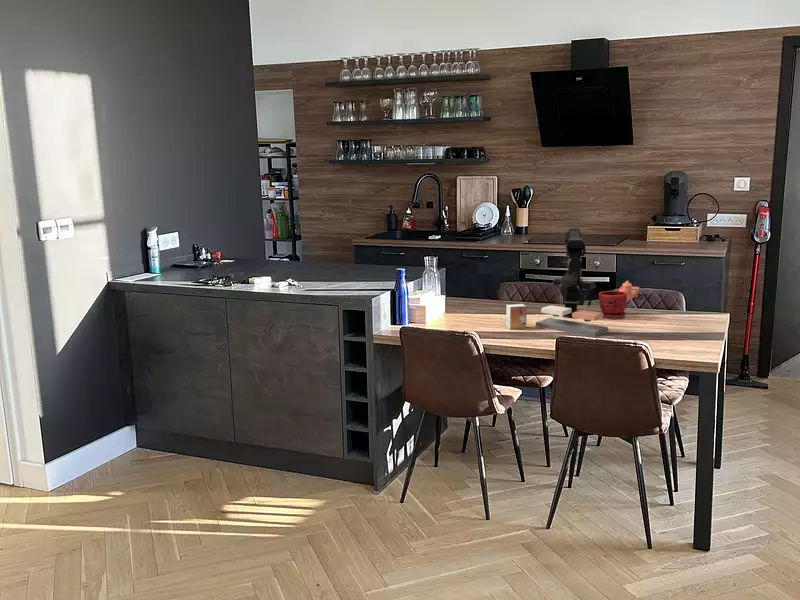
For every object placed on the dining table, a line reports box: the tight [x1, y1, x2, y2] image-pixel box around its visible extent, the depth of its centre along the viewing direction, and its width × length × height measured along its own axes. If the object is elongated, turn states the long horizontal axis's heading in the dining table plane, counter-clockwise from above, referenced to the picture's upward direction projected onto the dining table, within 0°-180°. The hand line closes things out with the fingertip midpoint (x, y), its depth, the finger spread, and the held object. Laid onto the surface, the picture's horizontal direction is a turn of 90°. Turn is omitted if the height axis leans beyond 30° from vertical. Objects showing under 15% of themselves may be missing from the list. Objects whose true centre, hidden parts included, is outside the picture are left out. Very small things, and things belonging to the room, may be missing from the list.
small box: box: [505, 303, 528, 330], centre depth 360 cm, size 8×6×10 cm
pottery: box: [618, 280, 640, 301], centre depth 424 cm, size 18×10×10 cm, turn 157°
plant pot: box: [598, 290, 628, 320], centre depth 377 cm, size 13×13×12 cm
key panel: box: [535, 317, 609, 337], centre depth 356 cm, size 12×30×2 cm, turn 48°
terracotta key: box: [572, 309, 604, 322], centre depth 350 cm, size 8×11×4 cm
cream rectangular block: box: [540, 305, 572, 318], centre depth 360 cm, size 8×11×4 cm
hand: (573, 302), depth 351 cm, fingers open, 9 cm apart
